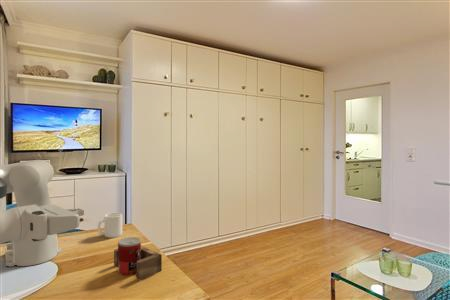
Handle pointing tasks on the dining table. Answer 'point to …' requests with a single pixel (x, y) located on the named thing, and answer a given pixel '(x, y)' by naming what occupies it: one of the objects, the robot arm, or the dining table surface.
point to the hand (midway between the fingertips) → (81, 211)
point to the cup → (111, 225)
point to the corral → (145, 263)
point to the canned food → (128, 255)
